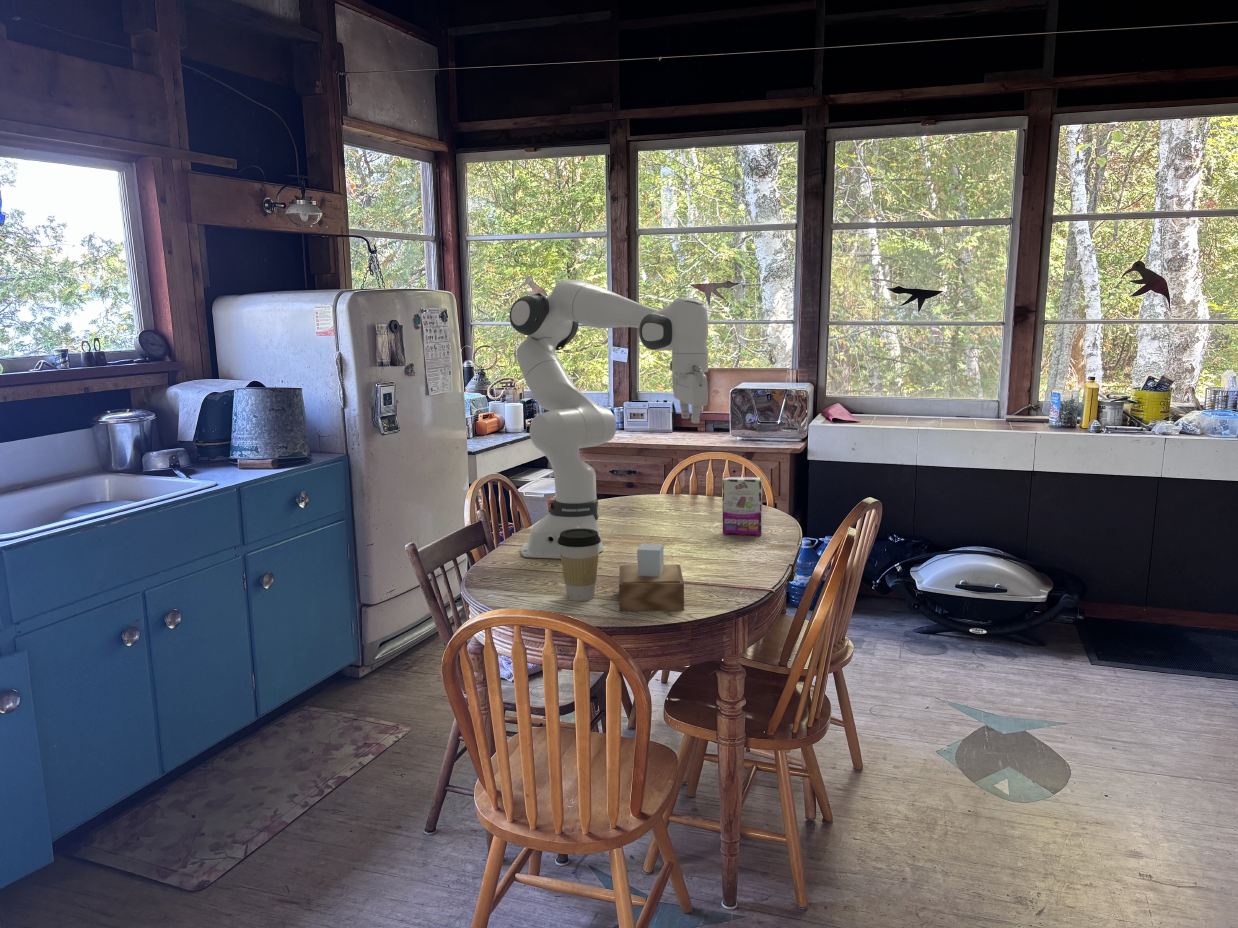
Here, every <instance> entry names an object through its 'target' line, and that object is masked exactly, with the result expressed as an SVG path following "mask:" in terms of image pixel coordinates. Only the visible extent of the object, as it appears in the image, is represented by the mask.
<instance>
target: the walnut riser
mask: <svg viewBox="0 0 1238 928" xmlns="http://www.w3.org/2000/svg"><path fill="white" fill-rule="evenodd" d="M682 572H683V571H682V568H681V564H676V563H675V564H664V570H663V572H662V574H661V576H660V577H655V576H638V564H627V565H626V564H622V565H619V573H618V574H619V576H618V596H619V601H618V602H619V612H634V611H635V612H643V611H644V612H645V611H646V612H647V611H650V612H651V611H652V612H653V611H684V610H685V583H684V577H683V573H682Z"/></svg>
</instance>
